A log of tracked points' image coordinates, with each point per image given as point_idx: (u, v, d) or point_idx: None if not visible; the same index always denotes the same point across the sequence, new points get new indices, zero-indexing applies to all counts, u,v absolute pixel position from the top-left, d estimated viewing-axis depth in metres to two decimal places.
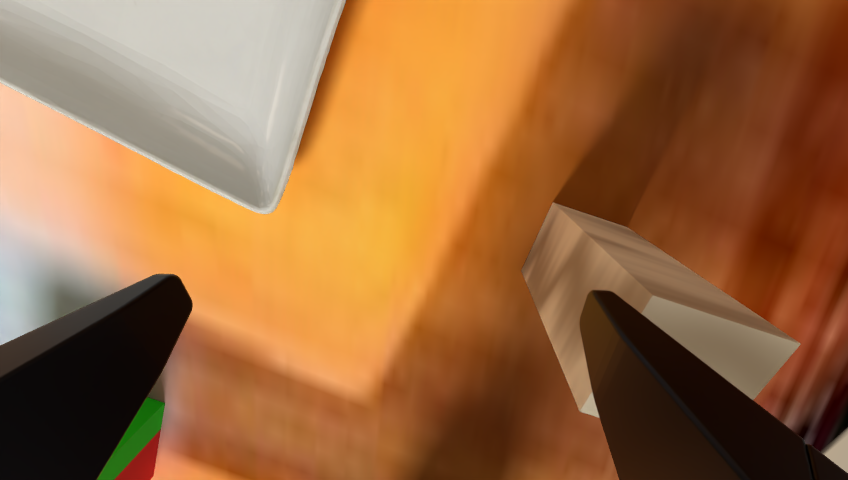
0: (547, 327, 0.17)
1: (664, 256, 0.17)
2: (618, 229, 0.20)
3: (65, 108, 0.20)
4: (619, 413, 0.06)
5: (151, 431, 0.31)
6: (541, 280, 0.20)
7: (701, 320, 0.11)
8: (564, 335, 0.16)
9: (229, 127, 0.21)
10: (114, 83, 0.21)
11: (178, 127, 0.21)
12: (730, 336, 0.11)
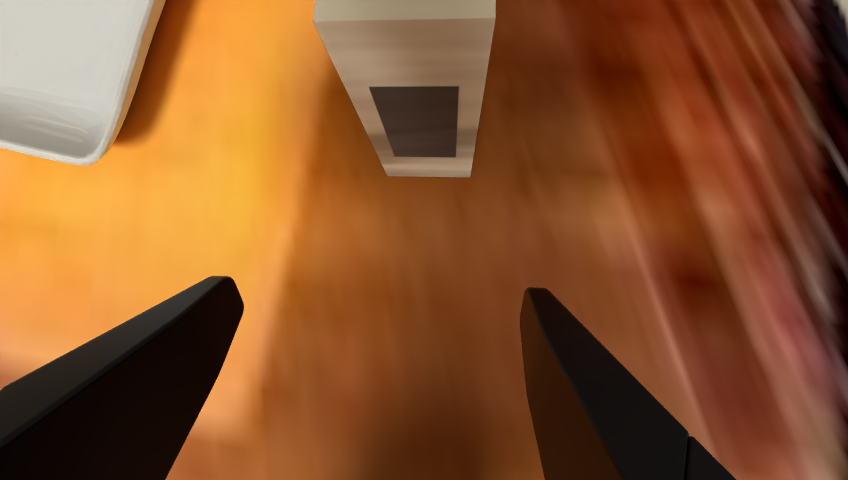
0: (358, 113, 0.15)
1: None
2: None
3: None
4: (542, 408, 0.06)
5: None
6: None
7: None
8: None
9: (78, 118, 0.23)
10: None
11: (26, 124, 0.22)
12: None
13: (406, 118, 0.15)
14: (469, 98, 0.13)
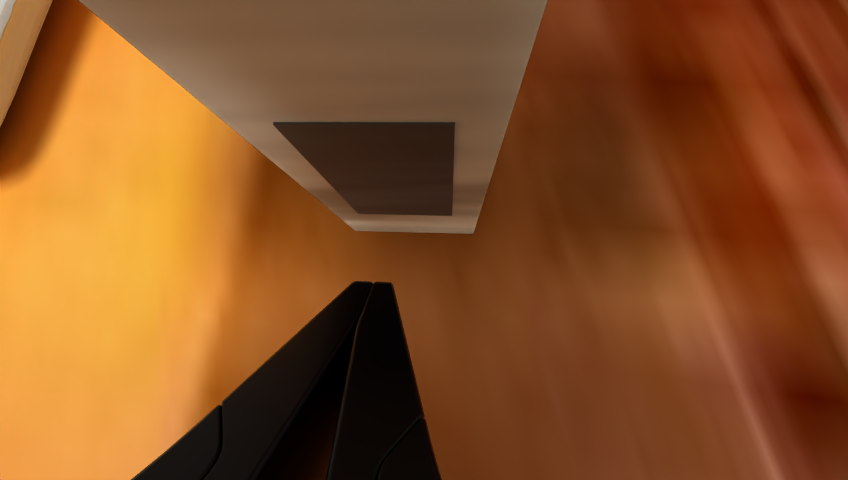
0: (278, 160, 0.08)
1: None
2: None
3: None
4: None
5: None
6: None
7: None
8: None
9: None
10: None
11: None
12: None
13: (362, 170, 0.08)
14: (475, 144, 0.07)
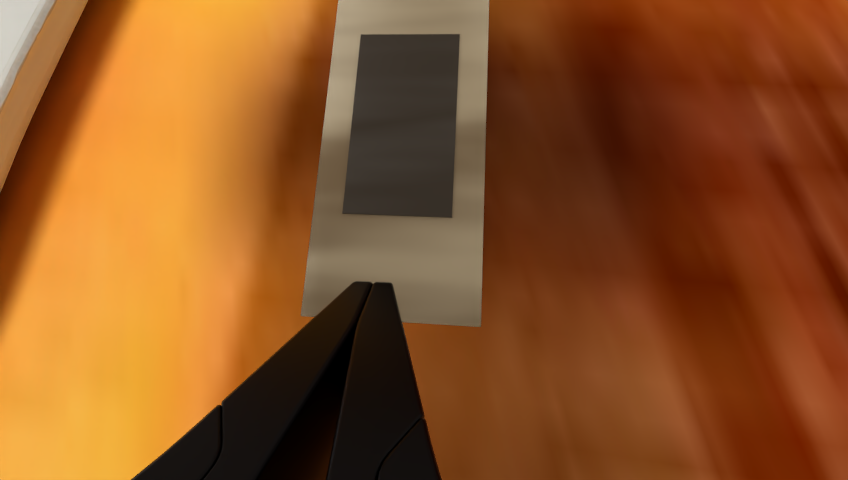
0: (329, 94, 0.11)
1: None
2: None
3: None
4: None
5: None
6: None
7: None
8: None
9: None
10: None
11: None
12: None
13: (388, 96, 0.11)
14: (471, 57, 0.11)
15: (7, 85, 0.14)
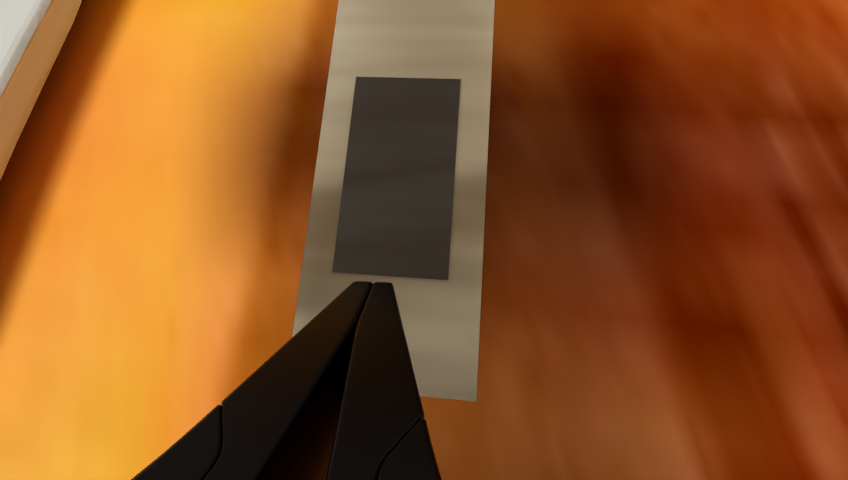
0: (321, 140, 0.11)
1: None
2: None
3: None
4: None
5: None
6: None
7: None
8: None
9: None
10: None
11: None
12: None
13: (384, 145, 0.10)
14: (472, 104, 0.10)
15: None
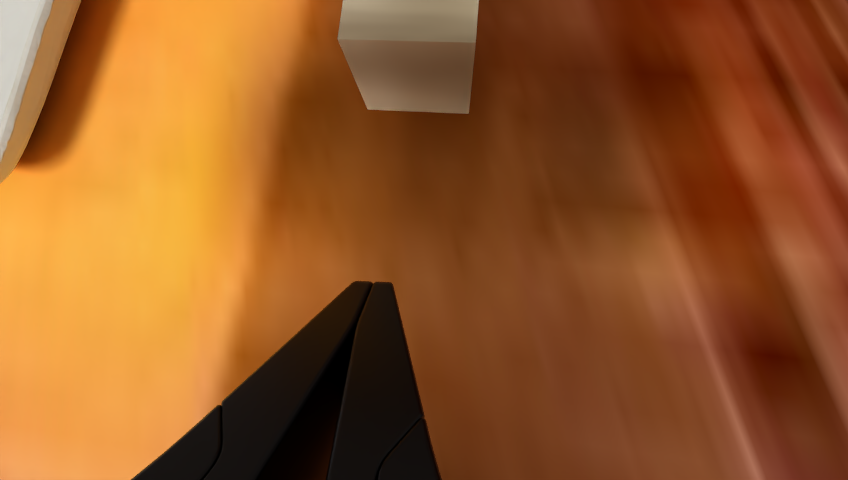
0: None
1: None
2: None
3: None
4: None
5: None
6: None
7: None
8: None
9: None
10: None
11: None
12: None
13: None
14: None
15: None
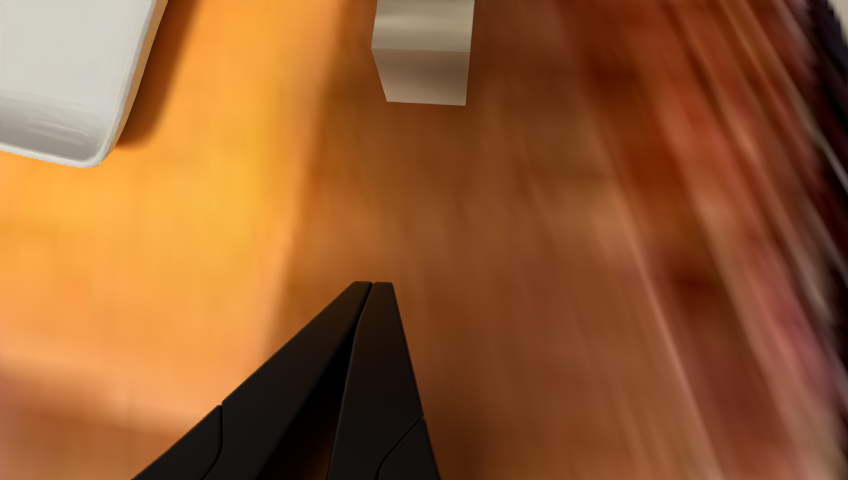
0: None
1: None
2: None
3: None
4: None
5: None
6: None
7: None
8: None
9: (80, 121, 0.23)
10: None
11: (28, 128, 0.22)
12: None
13: None
14: None
15: None
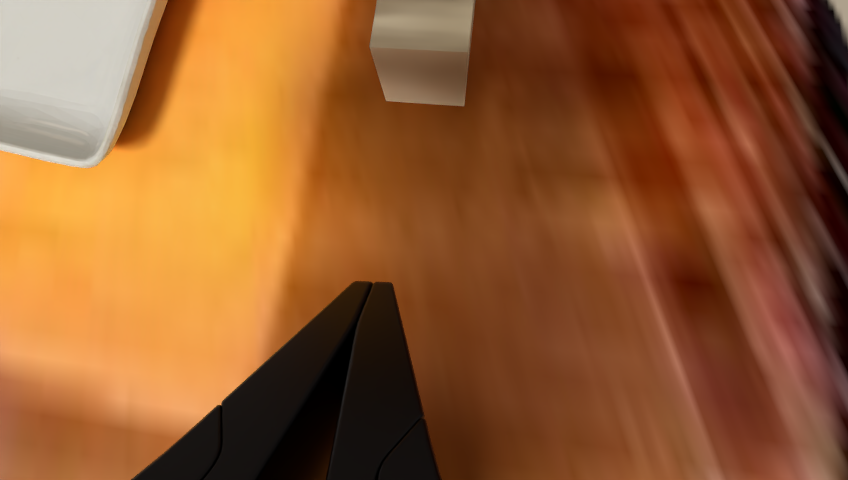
0: None
1: None
2: None
3: None
4: None
5: None
6: None
7: None
8: None
9: (79, 121, 0.23)
10: None
11: (28, 127, 0.22)
12: None
13: None
14: None
15: None
